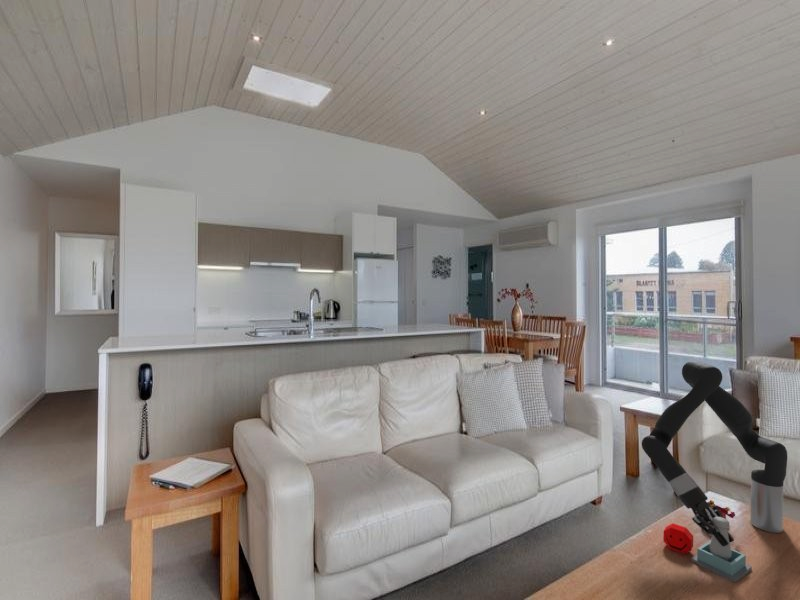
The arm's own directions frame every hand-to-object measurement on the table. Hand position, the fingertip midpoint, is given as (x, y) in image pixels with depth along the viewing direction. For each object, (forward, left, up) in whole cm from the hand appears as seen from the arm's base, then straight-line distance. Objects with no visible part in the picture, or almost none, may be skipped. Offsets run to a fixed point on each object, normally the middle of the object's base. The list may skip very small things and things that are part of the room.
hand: (728, 543), depth 133 cm
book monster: (-24, -12, -9) cm, 28 cm away
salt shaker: (0, -2, -6) cm, 6 cm away
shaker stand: (0, -2, -8) cm, 8 cm away
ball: (+3, -13, -8) cm, 16 cm away
